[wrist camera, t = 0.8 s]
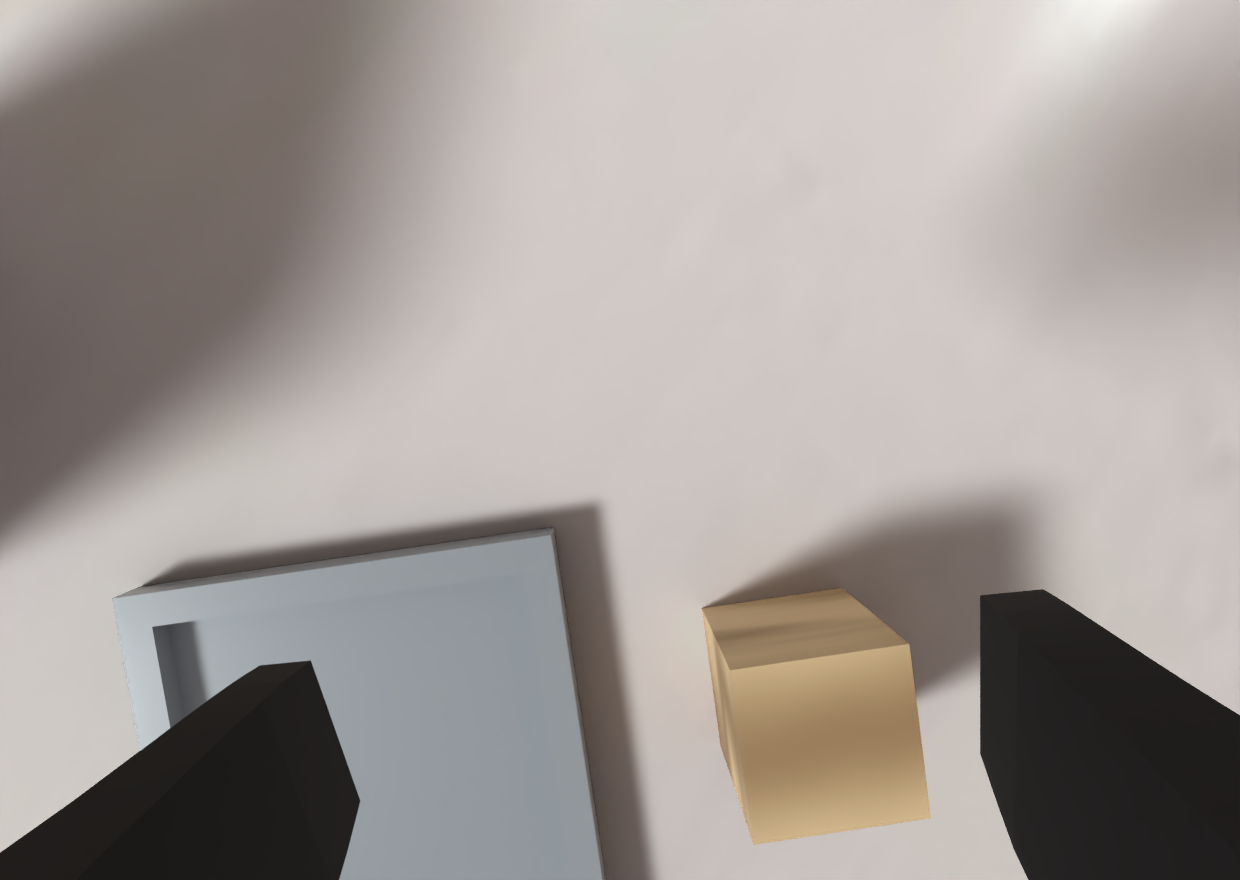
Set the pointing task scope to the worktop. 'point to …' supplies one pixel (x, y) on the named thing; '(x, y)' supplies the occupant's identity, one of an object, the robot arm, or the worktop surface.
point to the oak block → (815, 715)
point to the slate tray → (404, 695)
